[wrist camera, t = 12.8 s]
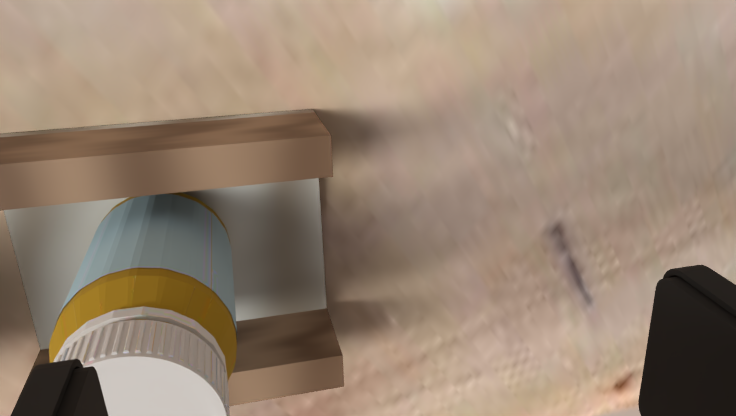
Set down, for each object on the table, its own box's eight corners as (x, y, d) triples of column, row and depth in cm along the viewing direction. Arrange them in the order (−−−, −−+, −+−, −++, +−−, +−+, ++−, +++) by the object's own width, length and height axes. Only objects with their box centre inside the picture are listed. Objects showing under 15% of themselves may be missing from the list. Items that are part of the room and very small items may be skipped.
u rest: (312, 109, 34) (330, 135, 28) (326, 329, 39) (344, 386, 34) (-11, 134, 30) (-57, 169, 25) (51, 371, 36) (23, 441, 30)
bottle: (150, 159, 32) (105, 303, 18) (256, 236, 35) (284, 410, 21) (67, 257, 33) (-37, 464, 19) (177, 324, 36) (154, 547, 22)
